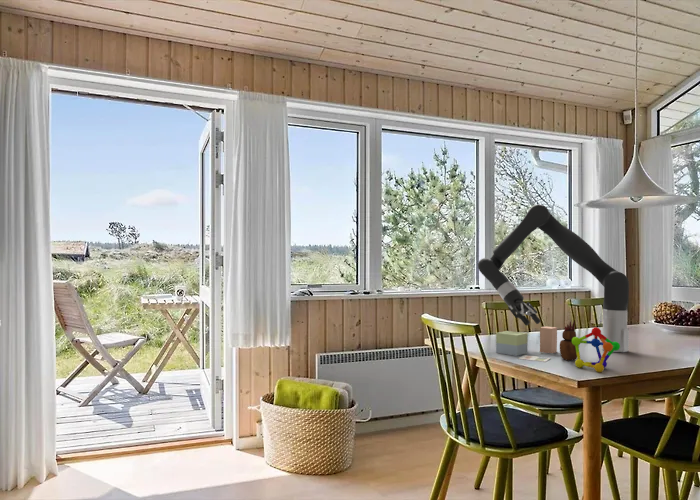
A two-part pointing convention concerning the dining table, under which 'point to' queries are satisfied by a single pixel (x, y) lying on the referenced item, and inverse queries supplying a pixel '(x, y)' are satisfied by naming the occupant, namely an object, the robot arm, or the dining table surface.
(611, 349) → the educational toy
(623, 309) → the robot arm
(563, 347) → the wooden figurine
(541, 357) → the page
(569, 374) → the dining table surface
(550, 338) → the brick
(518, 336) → the pedestal
